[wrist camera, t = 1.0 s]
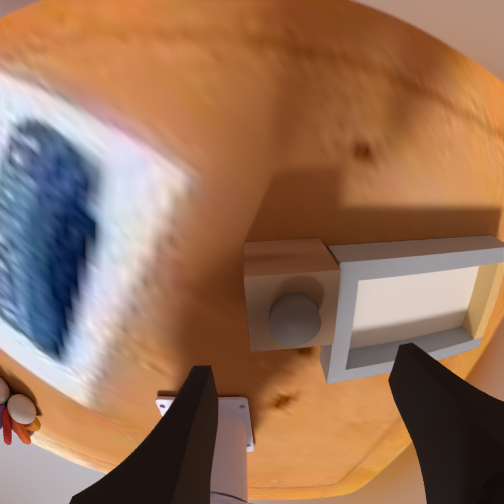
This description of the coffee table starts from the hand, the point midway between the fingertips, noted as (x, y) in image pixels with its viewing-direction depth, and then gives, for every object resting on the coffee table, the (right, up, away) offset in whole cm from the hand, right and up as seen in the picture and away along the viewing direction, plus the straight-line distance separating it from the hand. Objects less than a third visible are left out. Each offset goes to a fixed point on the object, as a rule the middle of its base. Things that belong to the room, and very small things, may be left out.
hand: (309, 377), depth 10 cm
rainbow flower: (-33, -14, +15) cm, 39 cm away
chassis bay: (+10, +1, +9) cm, 14 cm away
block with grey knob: (0, +3, +8) cm, 9 cm away
